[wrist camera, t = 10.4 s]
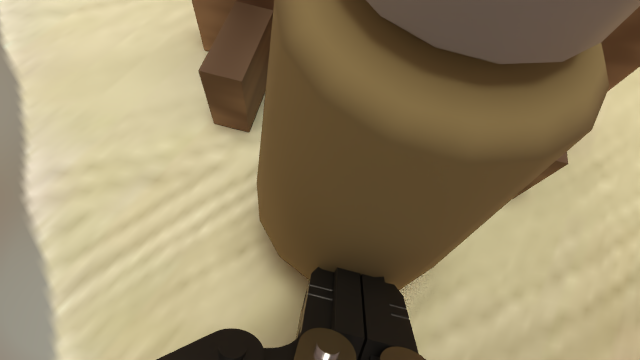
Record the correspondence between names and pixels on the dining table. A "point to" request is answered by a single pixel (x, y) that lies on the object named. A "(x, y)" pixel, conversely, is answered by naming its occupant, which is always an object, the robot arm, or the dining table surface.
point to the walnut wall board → (254, 45)
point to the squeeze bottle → (418, 121)
